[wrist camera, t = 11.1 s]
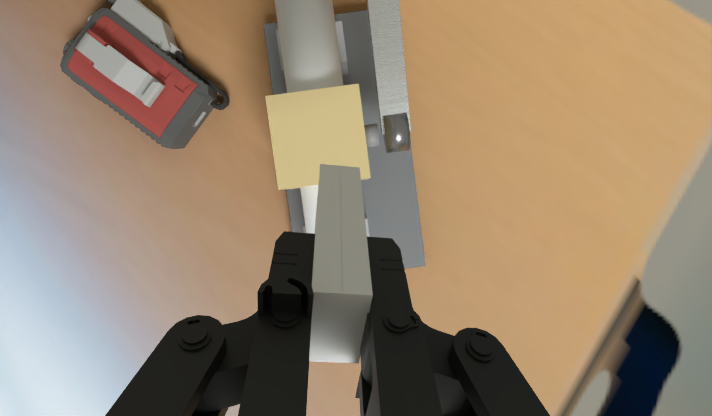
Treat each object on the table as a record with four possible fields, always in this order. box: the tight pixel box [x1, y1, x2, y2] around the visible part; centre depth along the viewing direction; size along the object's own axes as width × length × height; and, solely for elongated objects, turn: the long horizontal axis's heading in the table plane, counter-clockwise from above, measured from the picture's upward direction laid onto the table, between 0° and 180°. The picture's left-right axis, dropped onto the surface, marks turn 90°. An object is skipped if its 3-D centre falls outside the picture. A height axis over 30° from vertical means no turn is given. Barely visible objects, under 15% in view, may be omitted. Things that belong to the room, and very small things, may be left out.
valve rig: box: [263, 0, 426, 269], centre depth 31 cm, size 22×11×10 cm, turn 7°
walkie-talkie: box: [60, 0, 229, 149], centre depth 34 cm, size 9×4×20 cm
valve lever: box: [366, 0, 411, 153], centre depth 27 cm, size 3×3×17 cm
